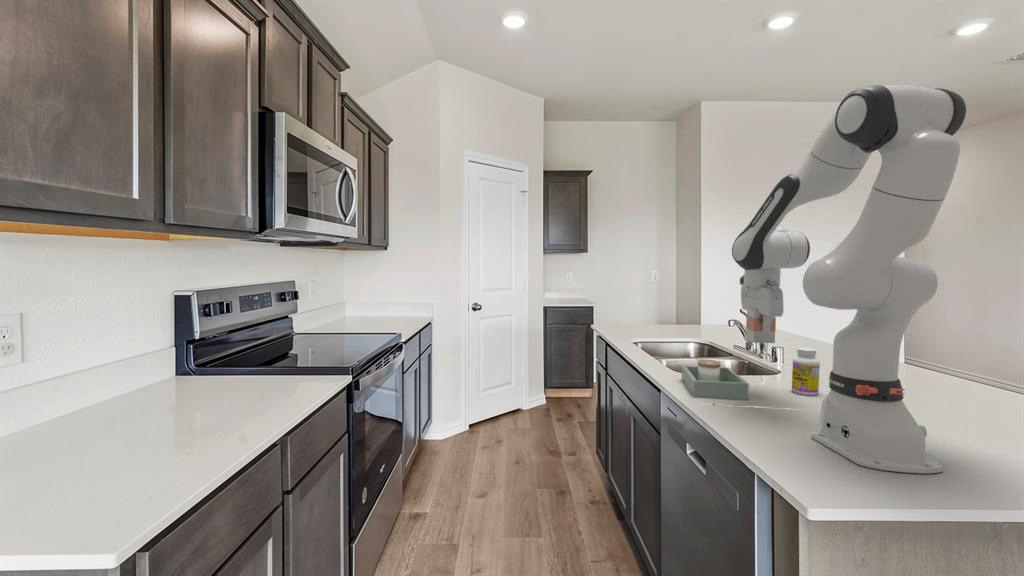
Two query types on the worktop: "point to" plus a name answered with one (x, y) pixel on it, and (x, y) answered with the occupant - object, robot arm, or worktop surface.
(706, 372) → the ceramic jar
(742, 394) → the tray
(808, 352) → the supplement bottle
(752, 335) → the tea tin
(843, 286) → the robot arm
